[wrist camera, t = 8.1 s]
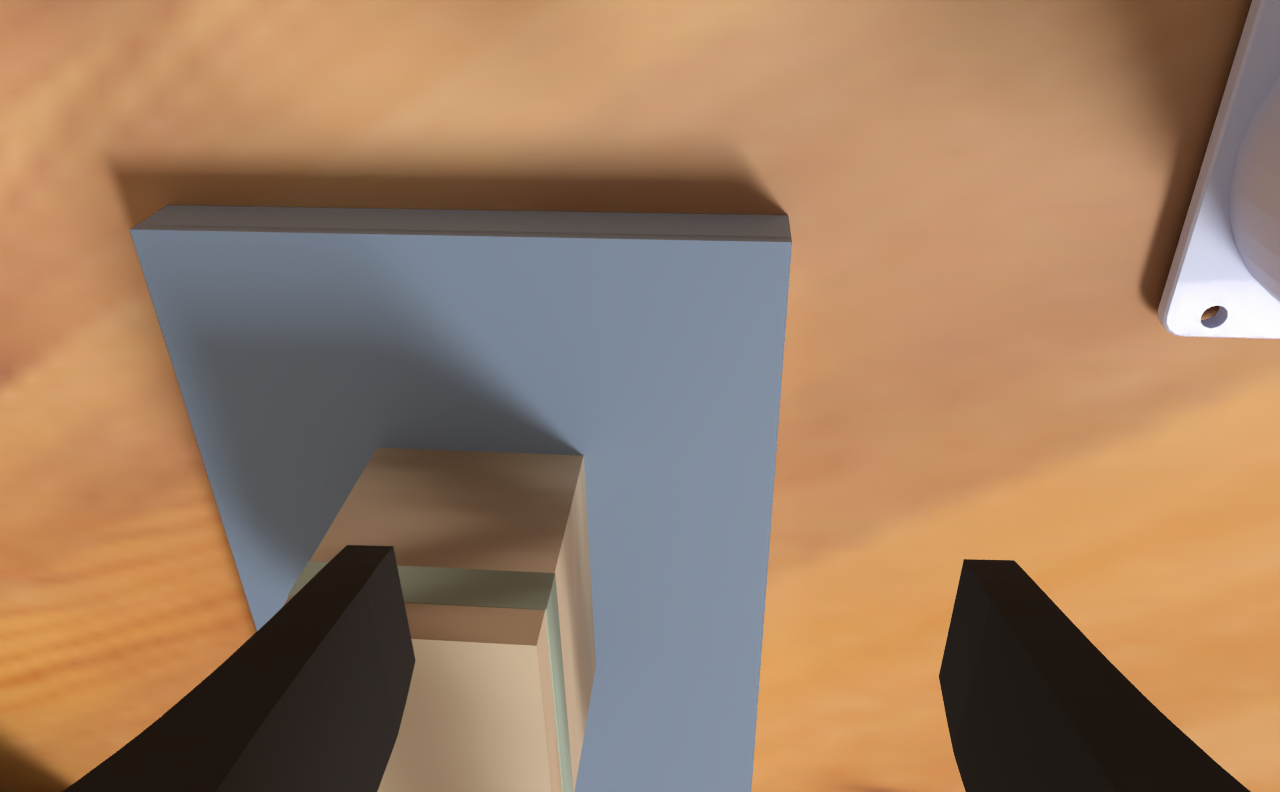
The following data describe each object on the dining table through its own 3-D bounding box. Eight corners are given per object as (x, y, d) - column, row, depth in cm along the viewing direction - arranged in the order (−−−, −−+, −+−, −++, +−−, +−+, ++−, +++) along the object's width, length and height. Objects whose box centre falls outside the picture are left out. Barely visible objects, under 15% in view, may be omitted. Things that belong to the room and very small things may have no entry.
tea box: (584, 454, 22) (537, 645, 16) (596, 666, 25) (561, 876, 20) (376, 446, 22) (267, 629, 17) (417, 656, 26) (338, 858, 21)
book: (786, 208, 20) (792, 241, 18) (749, 749, 29) (750, 805, 28) (177, 198, 21) (129, 229, 20) (326, 721, 31) (302, 773, 29)
